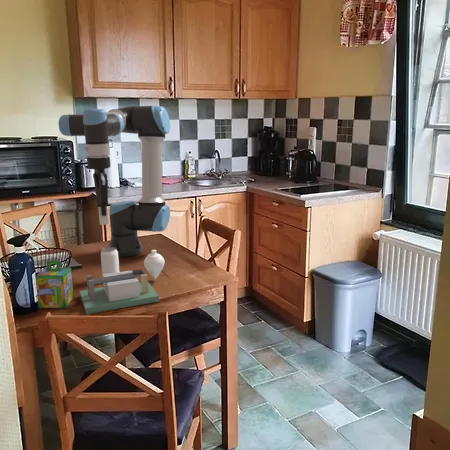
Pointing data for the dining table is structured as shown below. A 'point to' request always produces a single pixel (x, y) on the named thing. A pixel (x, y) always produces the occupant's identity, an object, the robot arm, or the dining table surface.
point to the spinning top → (154, 263)
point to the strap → (118, 277)
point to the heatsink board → (115, 304)
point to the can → (109, 260)
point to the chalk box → (54, 286)
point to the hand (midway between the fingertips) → (104, 224)
